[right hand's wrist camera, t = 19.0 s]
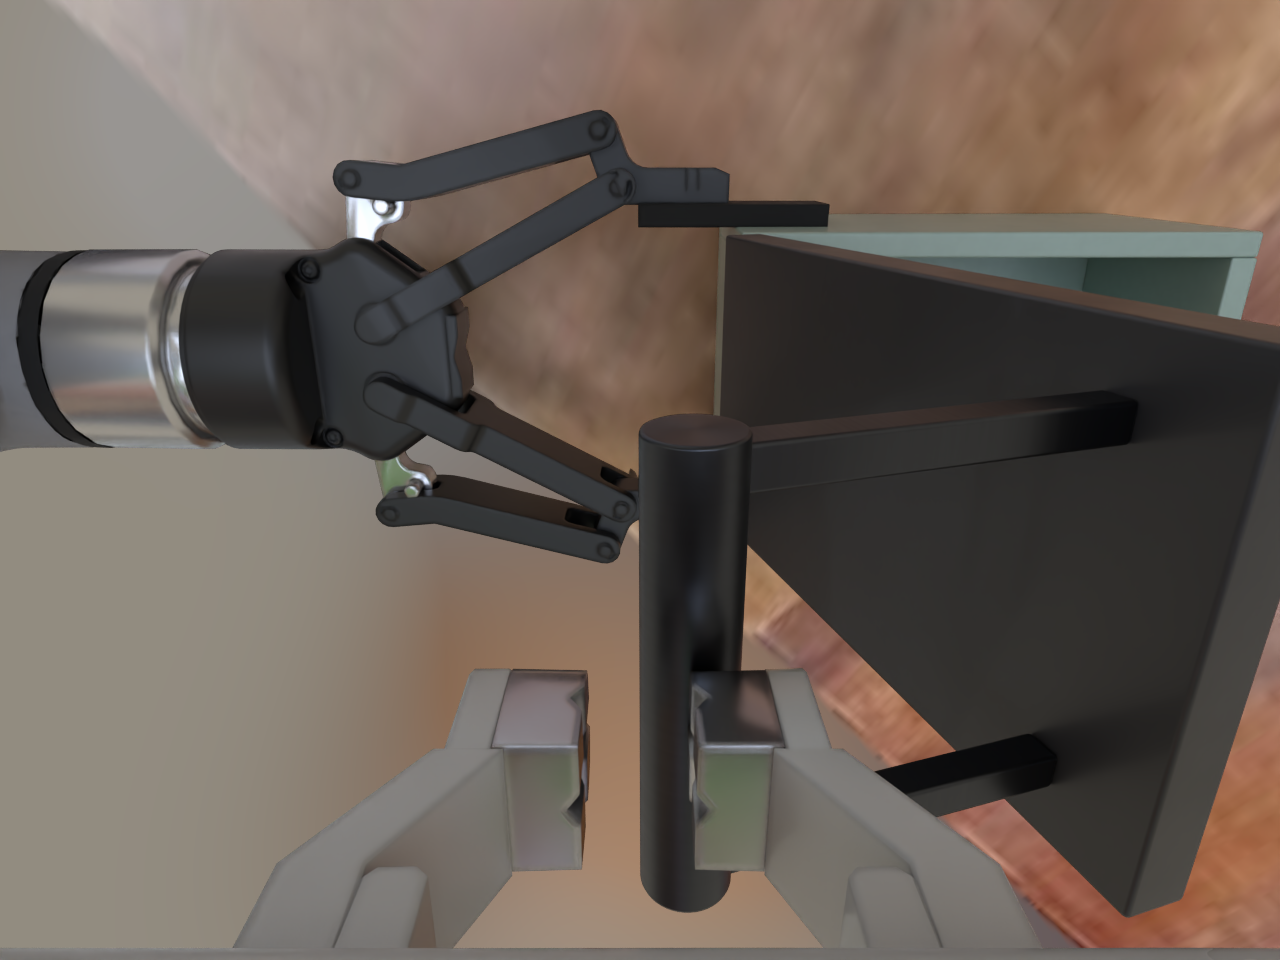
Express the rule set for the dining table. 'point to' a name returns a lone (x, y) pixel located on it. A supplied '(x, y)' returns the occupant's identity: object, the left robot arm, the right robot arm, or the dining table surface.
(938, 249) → the chest
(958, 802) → the lid
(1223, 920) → the dining table surface
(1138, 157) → the dining table surface
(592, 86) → the dining table surface
